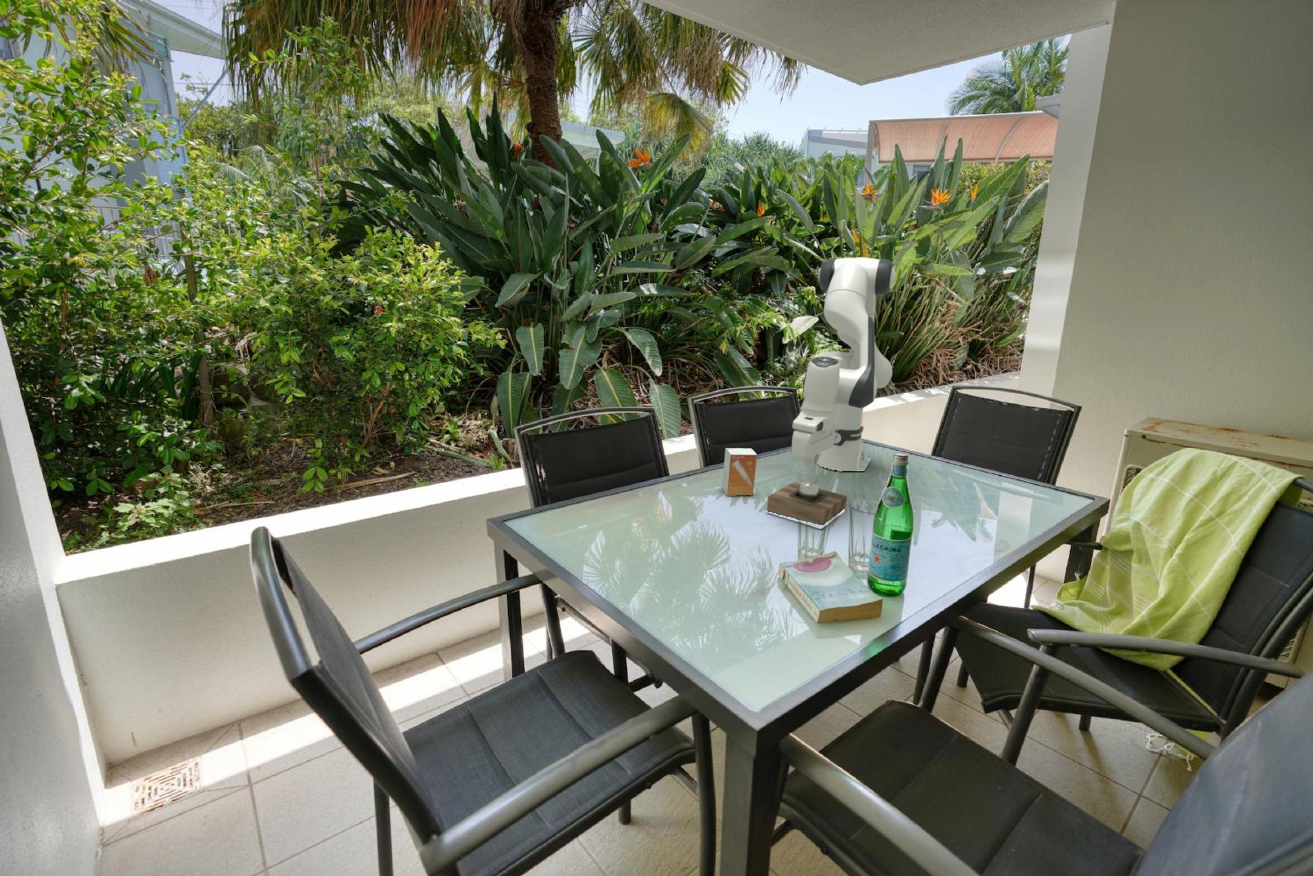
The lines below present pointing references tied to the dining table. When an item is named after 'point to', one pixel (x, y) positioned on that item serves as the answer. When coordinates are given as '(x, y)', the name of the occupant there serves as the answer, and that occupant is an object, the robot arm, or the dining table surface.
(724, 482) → the small box
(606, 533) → the dining table surface
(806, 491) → the peg
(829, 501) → the socket block
